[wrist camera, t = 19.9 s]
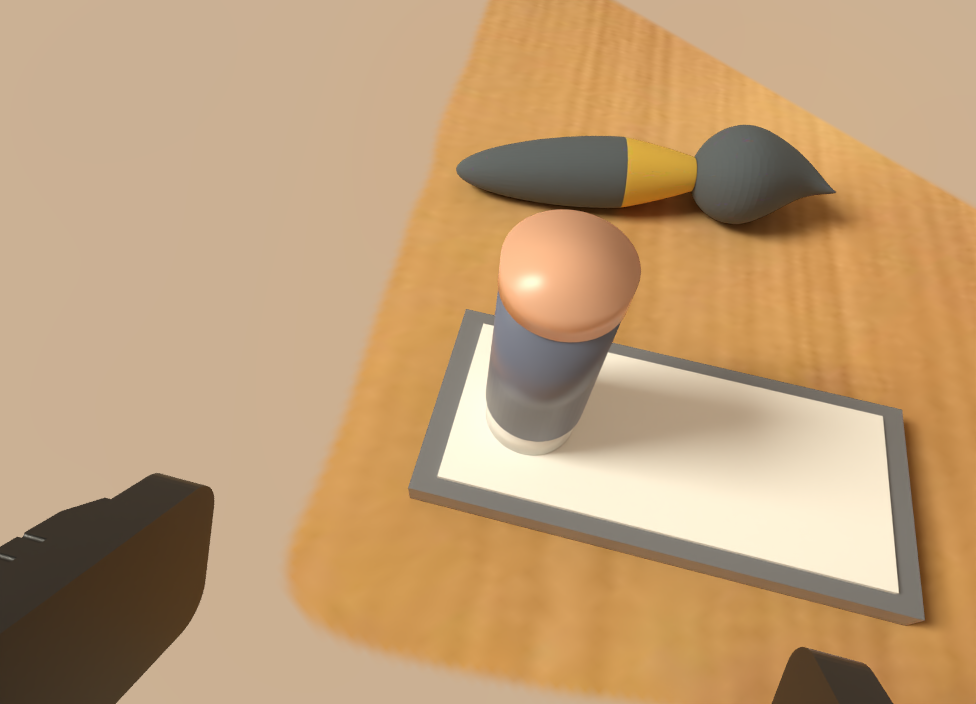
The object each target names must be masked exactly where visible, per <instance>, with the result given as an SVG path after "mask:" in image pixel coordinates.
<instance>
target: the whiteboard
mask: <svg viewBox="0 0 976 704" xmlns="http://www.w3.org/2000/svg"><path fill="white" fill-rule="evenodd" d="M494 320H495V316H494V315H490V314H486V313H481V312H477V311H473V310H468V309H466V311H465V314H464V317H463V321H462V324H461V327H460V330H459V333H458V336H457V339H456V342H455V345H454V348H453V351H452V354H451V358H450V361H449V364H448V367H447V370H446V373H445V376H444V379H443V382H442V385H441V388H440V391H439V395H438V398H437V401H436V404H435V407H434V410H433V413H432V416H431V419H430V422H429V425H428V429H427V432H426V435H425V438H424V441H423V444H422V447H421V450H420V453H419V456H418V459H417V462H416V466H415V469H414V472H413V475H412V478H411V481H410V484H409V487H408V489H409V495H410V498H413V499H417V500H421V501H425V502H429V503H433V504H437V505H440V506H444V507H448V508H452V509H456V510H460V511H464V512H468V513H471V514H475V515H479V516H483V517H487V518H491V519H495V520H499V521H502V522H506V523H510V524H514V525H518V526H522V527H526V528H530V529H533V530H537V531H541V532H545V533H549V534H553V535H557V536H561V537H564V538H568V539H572V540H576V541H580V542H584V543H588V544H592V545H595V546H599V547H603V548H607V549H611V550H615V551H619V552H623V553H626V554H630V555H634V556H638V557H642V558H646V559H650V560H654V561H657V562H661V563H665V564H669V565H673V566H677V567H681V568H684V569H688V570H692V571H696V572H700V573H704V574H708V575H712V576H715V577H719V578H723V579H727V580H731V581H735V582H739V583H743V584H746V585H750V586H754V587H758V588H762V589H766V590H770V591H774V592H777V593H781V594H785V595H789V596H793V597H797V598H801V599H805V600H808V601H812V602H816V603H820V604H824V605H828V606H832V607H836V608H839V609H843V610H847V611H851V612H855V613H859V614H863V615H867V616H870V617H874V618H878V619H882V620H886V621H890V622H894V623H898V624H901V625H909V624H913V623H917V622H921V621H925V616H924V607H923V598H922V589H921V580H920V570H919V561H918V552H917V543H916V534H915V525H914V515H913V506H912V497H911V488H910V479H909V469H908V460H907V451H906V442H905V433H904V424H903V414H902V410H901V409H897V408H892V407H888V406H884V405H880V404H875V403H871V402H867V401H862V400H858V399H854V398H849V397H845V396H841V395H836V394H832V393H828V392H823V391H819V390H815V389H810V388H806V387H802V386H797V385H793V384H789V383H784V382H780V381H776V380H771V379H767V378H763V377H758V376H754V375H750V374H745V373H741V372H737V371H732V370H728V369H724V368H719V367H715V366H711V365H706V364H702V363H698V362H693V361H689V360H685V359H680V358H676V357H672V356H667V355H663V354H659V353H654V352H650V351H646V350H641V349H637V348H633V347H628V346H624V345H620V344H615V343H612V344H611V347H610V349H609V351H608V354H607V356H606V358H605V361H604V363H603V366H602V368H601V370H600V373H599V375H598V377H597V380H596V382H595V385H594V387H593V389H592V392H591V394H590V396H589V399H588V401H587V404H586V406H585V408H584V411H583V413H582V415H581V417H580V420H579V421H578V423H577V424H576V425H575V426H574V428H573V431H572V433H571V435H570V436H569V438H568V439H567V441H566V442H565V443H564V444H563V445H562V446H560V447H559V448H557V449H556V450H554V451H552V452H549V453H546V454H542V455H524V454H520V453H517V452H514V451H512V450H510V449H508V448H506V447H505V446H503V445H502V444H501V443H500V442H499V441H498V440H497V439H496V438H495V437H494V435H493V434H492V432H491V431H490V429H489V426H488V423H487V419H486V404H487V403H486V385H487V377H488V369H489V361H490V352H491V344H492V336H493V328H494Z"/></svg>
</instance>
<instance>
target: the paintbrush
mask: <svg viewBox="0 0 976 704" xmlns="http://www.w3.org/2000/svg"><path fill="white" fill-rule="evenodd" d="M456 171H457V174H458V175H459V176H460V177H461V178H462V179H463V180H465V181H466V182H468V183H470V184H471V185H474V186H476V187H478V188H481V189H483V190H486V191H489V192H493V193H496V194H500V195H504V196H508V197H512V198H517V199H522V200H527V201H533V202H539V203H546V204H554V205H562V206H574V207H591V208H620V207H627V206H632V205H637V204H643V203H647V202H652V201H656V200H660V199H665V198H669V197H672V196H676V195H680V194H684V193H687V192H691V194H692V196H693V198H694V200H695V202H696V204H697V205H698V206H699V207H700V209H701V210H702V211H703V212H704V213H706V214H707V215H708V216H710V217H711V218H713V219H715V220H717V221H720V222H723V223H729V224H742V223H746V222H751V221H753V220H756V219H759V218H761V217H763V216H766V215H768V214H770V213H772V212H773V211H775V210H777V209H779V208H781V207H783V206H785V205H786V204H788V203H790V202H793V201H795V200H797V199H800V198H803V197H806V196H812V195H820V194H832V193H836V192H835V191H834V190H833V189H832V188H831V187H830V186H829V185H828V184H827V182H826V181H825V180H824V179H823V177H822V176H821V175H820V174H819V173H818V171H817V170H816V169H815V168H814V167H813V166H812V164H811V163H810V162H809V161H808V160H807V159H806V158H805V157H804V156H803V155H802V154H801V153H800V152H799V151H798V150H796V149H795V148H794V147H793V146H791V145H790V144H789V143H788V142H786V141H785V140H783V139H782V138H780V137H779V136H777V135H775V134H774V133H772V132H770V131H768V130H766V129H763V128H761V127H757V126H752V125H738V126H733V127H730V128H727V129H724V130H722V131H720V132H718V133H717V134H715V135H714V136H712V137H711V138H710V139H708V140H707V141H706V142H705V143H704V144H703V145H702V147H701V148H700V149H699V151H698V152H697V154H696V155H695V157H693V156H690V155H687V154H684V153H681V152H678V151H675V150H672V149H669V148H665V147H662V146H658V145H655V144H651V143H647V142H643V141H639V140H635V139H631V138H626V137H615V136H577V137H560V138H549V139H539V140H532V141H525V142H519V143H514V144H508V145H504V146H499V147H495V148H491V149H488V150H484V151H481V152H479V153H476V154H474V155H471V156H469V157H467V158H466V159H464V160H463V161H461V162H460V163H459V164H458V166H457V168H456Z"/></svg>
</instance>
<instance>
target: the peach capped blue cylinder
mask: <svg viewBox="0 0 976 704" xmlns="http://www.w3.org/2000/svg"><path fill="white" fill-rule="evenodd" d="M640 275H641V267H640V261H639V257H638V254H637V252H636V250H635V248H634V246H633V244H632V243H631V242H630V240H629V239H628V238H627V237H626V236H625V234H624V233H623V232H622V231H620V230H619V229H618V228H617V227H615V226H614V225H612V224H611V223H609V222H608V221H606V220H604V219H602V218H600V217H597V216H595V215H592V214H589V213H586V212H581V211H576V210H560V209H558V210H549V211H544V212H540V213H537V214H534V215H532V216H530V217H527V218H526V219H524V220H522V221H521V222H519V223H518V224H517V225H516V226H515V227H514V228H513V229H512V230H511V231H510V232H509V234H508V235H507V237H506V239H505V241H504V243H503V246H502V250H501V258H500V266H499V275H498V296H497V304H496V312H495V320H494V328H493V336H492V344H491V352H490V361H489V369H488V377H487V385H486V403H487V404H486V419H487V423H488V426H489V429H490V431H491V432H492V434H493V435H494V437H495V438H496V439H497V440H498V441H499V442H500V443H501V444H502V445H503V446H505V447H506V448H508V449H510V450H512V451H514V452H517V453H520V454H524V455H542V454H546V453H549V452H552V451H554V450H556V449H557V448H559V447H560V446H562V445H563V444H564V443H565V442H566V441H567V439H568V438H569V436H570V435H571V433H572V431H573V428H574V426H575V425H576V424H577V423H578V421H579V420H580V417H581V415H582V413H583V411H584V408H585V406H586V404H587V401H588V399H589V396H590V394H591V392H592V389H593V387H594V385H595V382H596V380H597V377H598V375H599V373H600V370H601V368H602V366H603V363H604V361H605V358H606V356H607V354H608V351H609V349H610V347H611V344H612V342H613V339H614V337H615V335H616V332H617V330H618V327H619V325H620V323H621V321H622V319H623V318H624V316H625V314H626V312H627V310H628V308H629V306H630V303H631V301H632V299H633V296H634V294H635V292H636V289H637V287H638V284H639V281H640Z"/></svg>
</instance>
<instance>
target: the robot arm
mask: <svg viewBox="0 0 976 704" xmlns="http://www.w3.org/2000/svg"><path fill="white" fill-rule="evenodd" d="M213 510H214V494H213V491H212V489H211V488H210V487H208V486H205V485H201V484H197V483H193V482H190V481H186V480H182V479H178V478H175V477H171V476H167V475H163V474H160V473H155V474H152V475H150V476H148V477H146V478H144V479H143V480H141V481H140V482H138V483H136V484H135V485H133V486H132V487H130V488H128V489H127V490H125V491H124V492H122V493H120V494H119V495H117V496H115V497H114V498H112V499H108V498H103V499H99V500H96V501H93V502H89V503H86V504H83V505H80V506H77V507H73V508H70V509H67V510H64V511H61V512H59V513H57V514H55V515H54V516H52V517H51V518H49V519H47V520H46V521H43V522H42V523H40V524H38V525H37V526H35V527H33V528H31V529H30V530H28V531H26V532H25V534H24V536H23V537H22V538H20V537H16V538H14V539H13V540H11V541H9V542H7V543H6V544H4V545H2V546H1V547H0V704H116V703H117V702H118V700H119V699H120V698H121V697H122V696H123V695H124V694H125V693H126V692H127V691H128V690H129V689H130V688H131V687H132V686H133V684H134V683H135V682H136V681H137V680H138V679H139V678H140V677H141V676H142V675H143V674H144V673H145V672H146V671H147V669H148V668H149V667H150V666H151V665H152V664H153V663H154V662H155V661H156V660H157V659H158V658H159V656H160V655H162V653H163V652H164V651H165V650H166V649H167V648H168V647H169V646H170V645H171V644H172V643H173V642H174V641H175V639H176V638H177V637H178V636H179V635H180V634H181V633H182V632H183V631H184V629H185V628H186V627H187V625H188V624H189V622H190V621H191V619H192V617H193V616H194V614H195V612H196V610H197V607H198V605H199V603H200V600H201V597H202V594H203V590H204V585H205V579H206V570H207V561H208V553H209V544H210V536H211V526H212V518H213ZM772 704H893V703H892V701H891V700H890V698H889V697H888V695H887V693H886V692H885V690H884V689H883V687H882V686H881V684H880V683H879V681H878V679H877V678H876V676H875V675H874V673H873V672H872V670H871V669H870V668H869V667H868V666H867V665H866V664H864V663H861V662H858V661H854V660H850V659H846V658H843V657H839V656H835V655H831V654H828V653H824V652H820V651H816V650H813V649H809V648H805V647H800V648H798V649H796V650H795V651H794V652H793V653H792V655H791V656H790V658H789V660H788V663H787V665H786V668H785V670H784V673H783V676H782V678H781V681H780V683H779V686H778V689H777V691H776V694H775V697H774V699H773V702H772Z"/></svg>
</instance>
